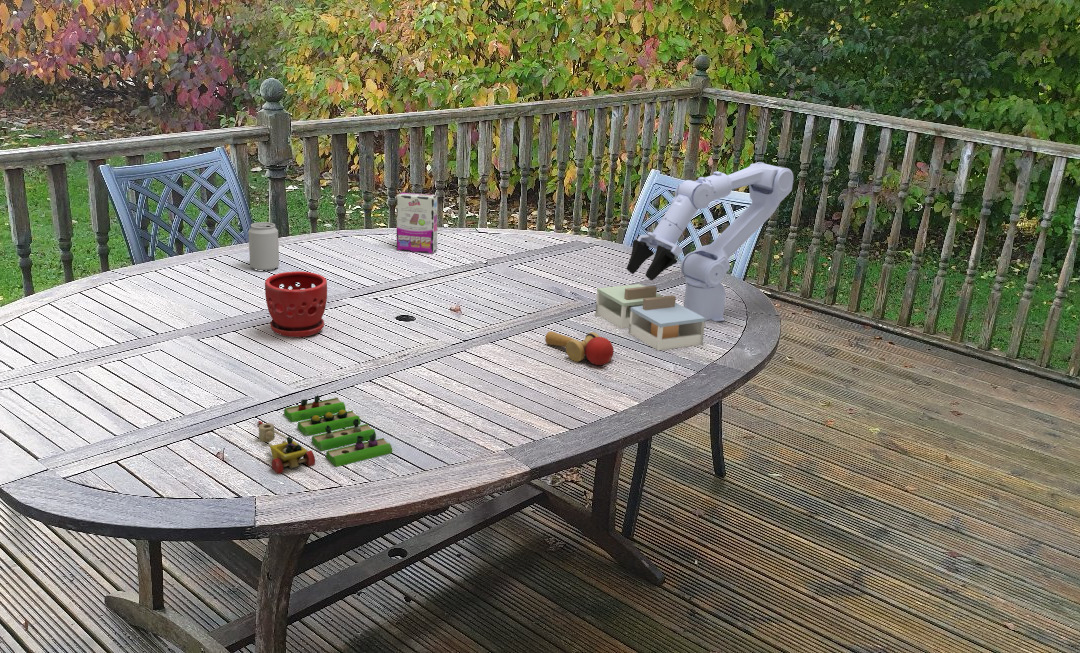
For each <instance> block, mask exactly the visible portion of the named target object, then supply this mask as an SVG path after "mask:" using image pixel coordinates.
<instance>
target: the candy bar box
mask: <svg viewBox="0 0 1080 653" xmlns="http://www.w3.org/2000/svg"><path fill="white" fill-rule="evenodd" d="M395 197H396V198H395V200H396V202H395V204H396V211H395V212H396V215H395V216H396V251H398V250H400V252H409V251H410V252H411V253H421V254H422V253H423V254H434V253H435V252H437V250H438V198H439V197H438V195H437V194H428V193H427V194H426V193H411V192H400V193H399V194H397V195H396V196H395ZM410 252H409V253H410Z"/></svg>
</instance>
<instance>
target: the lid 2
mask: <svg viewBox="0 0 1080 653" xmlns="http://www.w3.org/2000/svg"><path fill="white" fill-rule="evenodd" d="M676 300H677V297H676V296H675V295H671V294H670V295H664V296H663V295H662V297H653V298H645V299H643V306H637V307H631V311H632V312H634V313H636V314H637V315H639V316H641V317H643V318H645V319H646V320H648V321H650V322H652V323H653V324H655V325H657V326H659V327H666V326H674V325H682V324H689V323H697V322H705V323H706V320H705V318H704V317H702V316H701V315H699V314H697V313H695V312H693V311H691V310H689V309H687V308H685V307H684V305H682V304H679V303H678V302H676Z"/></svg>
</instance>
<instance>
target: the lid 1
mask: <svg viewBox="0 0 1080 653" xmlns="http://www.w3.org/2000/svg"><path fill="white" fill-rule="evenodd" d="M657 291H658V290H657V286H656V285H650V286H649V285H648V286H645V285H642V284H641V283H636V284H628V285H618V286H617V285H616V286H609V287H608V286H607V287H599V288H597V289H596V293H597V292H599V293H600V294H602V295H604V296H606V297H607V298H609V299H611V300H613V301H615V302H616V303H618V304H620V305H622V306H623V307H624V306H633V305H642V304H643V299H645V298H653V297H662V296H663V295H662V294H659V293H658V292H657Z"/></svg>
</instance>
